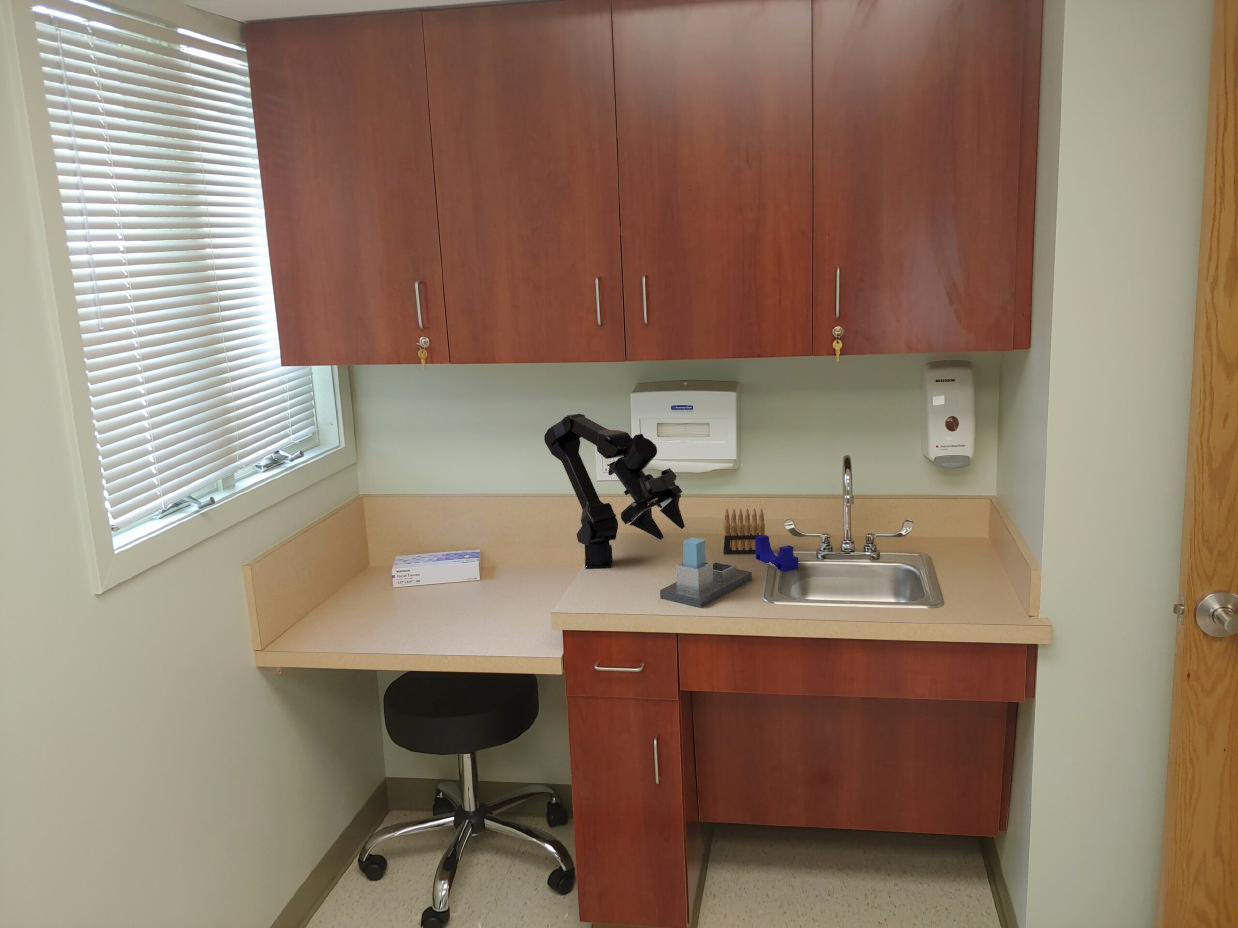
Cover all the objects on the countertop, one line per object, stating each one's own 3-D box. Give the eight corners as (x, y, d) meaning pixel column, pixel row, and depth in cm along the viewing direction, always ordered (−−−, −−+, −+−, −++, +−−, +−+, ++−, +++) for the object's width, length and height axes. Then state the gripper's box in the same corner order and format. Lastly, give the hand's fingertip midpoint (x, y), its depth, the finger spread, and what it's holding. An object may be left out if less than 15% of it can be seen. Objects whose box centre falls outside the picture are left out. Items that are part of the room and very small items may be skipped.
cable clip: (798, 569, 240) (798, 545, 239) (783, 572, 238) (783, 548, 237) (770, 556, 251) (770, 533, 249) (755, 559, 249) (755, 536, 248)
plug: (696, 573, 220) (696, 543, 219) (683, 570, 222) (683, 541, 221) (705, 569, 223) (705, 539, 222) (692, 566, 225) (692, 537, 224)
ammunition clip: (723, 554, 253) (723, 509, 250) (723, 552, 255) (722, 507, 252) (765, 554, 252) (765, 509, 250) (764, 552, 254) (764, 507, 251)
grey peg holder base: (700, 607, 216) (700, 575, 214) (660, 598, 223) (659, 566, 221) (752, 579, 233) (751, 549, 231) (713, 571, 240) (712, 542, 238)
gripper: (632, 468, 218) (673, 525, 215) (676, 451, 233) (715, 504, 230) (603, 496, 225) (642, 551, 222) (648, 477, 239) (685, 529, 236)
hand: (673, 533), depth 227 cm, fingers open, 9 cm apart
